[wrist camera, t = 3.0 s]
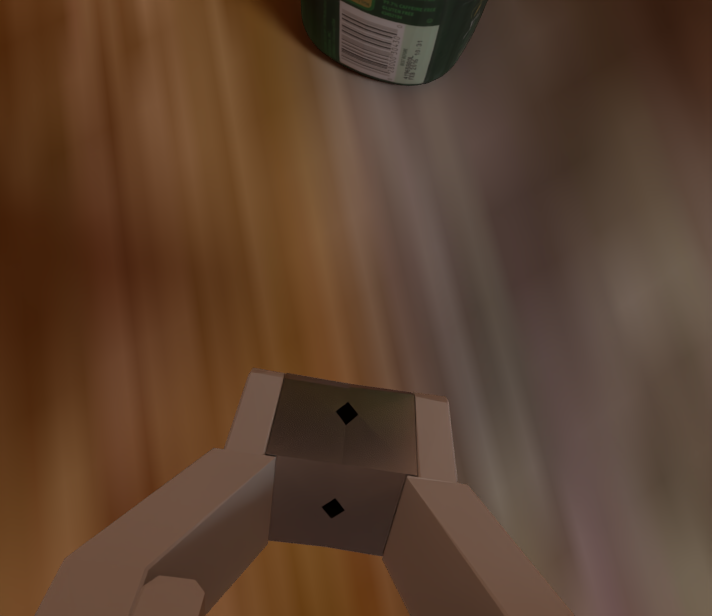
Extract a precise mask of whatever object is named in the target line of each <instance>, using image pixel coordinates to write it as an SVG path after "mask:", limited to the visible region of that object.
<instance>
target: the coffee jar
mask: <svg viewBox="0 0 712 616" xmlns="http://www.w3.org/2000/svg"><path fill="white" fill-rule="evenodd" d="M487 1H488V0H301V14H302V20H303V24H304V27H305V30H306V32H307V34H308V36H309V37H310V39H311V40H312V41H313V43H314V44H315V45H316V46H317V47H318V48H319V49H320V50H321V51H322V52H323V53H325V54H326V55H327V56H329V57H330V58H332V59H333V60H335V61H336V62H338V63H340V64H342V65H343V66H345V67H347V68H349V69H351V70H353V71H355V72H357V73H359V74H361V75H363V76H366V77H369V78H372V79H375V80H378V81H383V82H387V83H392V84H398V85H408V86H410V85H421V84H426V83H429V82H431V81H433V80H436V79H438V78H439V77H441V76H442V75H444V74H445V73H446V72H448V71H449V70H450V69H451V68H452V66H453V65H454V64H455V63H456V61H457V60H458V58H459V57H460V55H461V54H462V52H463V51H464V49H465V47H466V45H467V43H468V41H469V40H470V38H471V36H472V34H473V33H474V31H475V28H476V26H477V24H478V21H479V19H480V17H481V15H482V13H483V10H484V8H485V5H486V3H487Z"/></svg>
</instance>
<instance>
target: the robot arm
mask: <svg viewBox="0 0 712 616" xmlns="http://www.w3.org/2000/svg"><path fill="white" fill-rule="evenodd" d="M268 540H270V541H279V542H288V543H297V544H306V545H315V546H324V547H330V548H336V549H342V550H348V551H354V552H360V553H366V554H372V555H378V556H383V558H382V560H383V562H384V564H385V566H386V568H387V570H388V572H389V574H390V576H391V578H392V580H393V582H394V584H395V586H396V588H397V590H398V592H399V594H400V596H401V598H402V600H403V602H404V604H405V606H406V608H407V610H408V612H409V614H410V616H575V615H574V614H573V613H572V612H571V611H570V609H569V608H568V607H567V606H566V604H565V603H564V602H563V601H562V599H561V598H560V597H559V596H558V595H557V593H556V592H555V591H554V590H553V588H552V587H551V586H550V585H549V584H548V582H547V581H546V580H545V579H544V577H543V576H542V575H541V574H540V572H539V571H538V570H537V569H536V568H535V566H534V565H533V564H532V563H531V561H530V560H529V559H528V558H527V557H526V555H525V554H524V553H523V552H522V550H521V549H520V548H519V547H518V545H517V544H516V543H515V542H514V541H513V539H512V538H511V537H510V536H509V534H508V533H507V532H506V531H505V530H504V528H503V527H502V526H501V525H500V523H499V522H498V521H497V520H496V518H495V517H494V516H493V515H492V514H491V512H490V511H489V510H488V509H487V507H486V506H485V505H484V504H483V503H482V501H481V500H480V499H479V498H478V496H477V495H476V494H475V493H474V491H473V490H472V489H471V488H470V487H469V485H466V484H461V483H458V480H457V471H456V463H455V454H454V445H453V436H452V427H451V419H450V410H449V401H448V400H447V398H446V397H445V396H438V395H430V394H423V393H415V392H414V393H411V392H405V391H398V390H391V389H384V388H376V387H369V386H362V385H355V384H348V383H342V382H336V381H330V380H325V379H319V378H313V377H307V376H301V375H296V374H290V373H286V374H285V373H280V372H274V371H269V370H263V369H257V368H253V369H252V370H251V372H250V373H249V375H248V378H247V381H246V384H245V387H244V390H243V393H242V396H241V399H240V402H239V405H238V408H237V411H236V414H235V417H234V420H233V423H232V426H231V429H230V432H229V435H228V438H227V441H226V444H225V447H224V449H218V448H213V449H211V450H210V451H209V452H207V453H206V454H205V455H203V456H202V457H201V458H199V459H198V460H197V461H195V462H194V463H193V464H191V465H190V466H188V467H187V468H186V469H184V470H183V471H182V472H180V473H179V474H178V475H176V476H175V477H174V478H172V479H171V480H170V481H168V482H167V483H166V484H164V485H163V486H162V487H160V488H159V489H158V490H156V491H155V492H153V493H152V494H151V495H149V496H148V497H147V498H145V499H144V500H143V501H141V502H140V503H139V504H137V505H136V506H135V507H133V508H132V509H131V510H129V511H128V512H127V513H125V514H124V515H122V516H121V517H120V518H118V519H117V520H116V521H114V522H113V523H112V524H110V525H109V526H108V527H106V528H105V529H104V530H102V531H101V532H100V533H98V534H97V535H96V536H94V537H93V538H92V539H90V540H89V541H87V542H86V543H85V544H83V545H82V546H81V547H79V548H78V549H77V550H75V551H74V552H73V553H71V554H70V555H69V556H67V557H66V558H65V559H64V561H63V563H62V565H61V567H60V568H59V570H58V572H57V574H56V576H55V578H54V580H53V582H52V584H51V585H50V587H49V589H48V591H47V593H46V595H45V597H44V599H43V601H42V602H41V604H40V606H39V608H38V610H37V612H36V614H35V616H205V615H206V614H207V613H208V612H209V610H210V609H211V608H212V607H213V606H214V605H215V604H216V602H217V601H218V600H219V599H220V598H221V597H222V596H223V594H224V593H225V592H226V591H227V590H228V589H229V588H230V586H231V585H232V584H233V583H234V582H235V581H236V580H237V578H238V577H239V576H240V575H241V574H242V573H243V572H244V570H245V569H246V568H247V567H248V566H249V565H250V564H251V562H252V561H253V560H254V559H255V558H256V557H257V556H258V555H259V553H260V552H261V551H262V550H263V549H264V548H265V547H266V545H267V544H268Z"/></svg>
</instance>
